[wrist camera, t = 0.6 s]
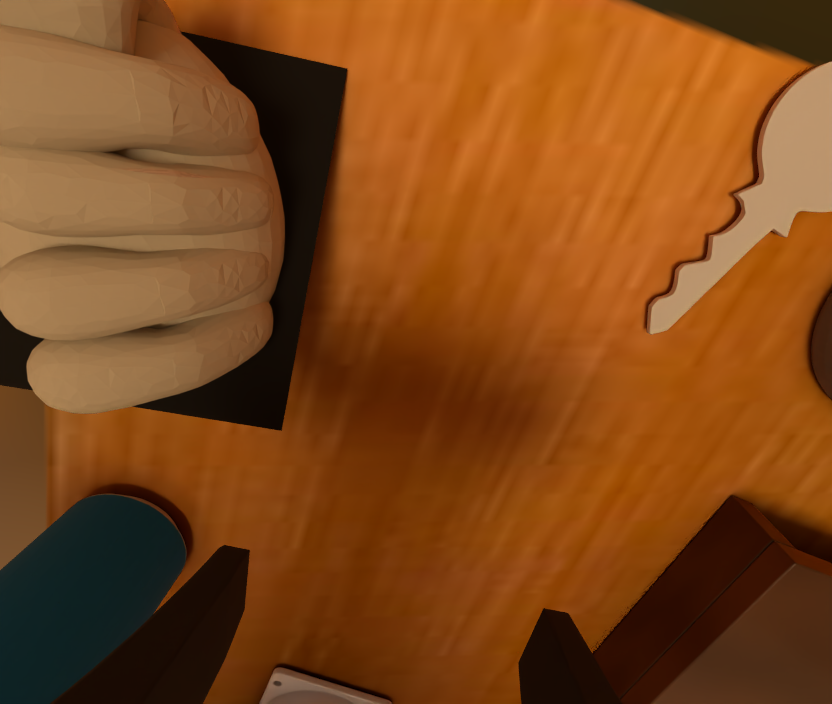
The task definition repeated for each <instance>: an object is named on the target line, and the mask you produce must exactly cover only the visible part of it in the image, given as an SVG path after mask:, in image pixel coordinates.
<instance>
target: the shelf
mask: <svg viewBox="0 0 832 704" xmlns="http://www.w3.org/2000/svg"><path fill="white" fill-rule="evenodd" d="M593 656H594V658H595V659H596V661H597V663H598V664H599V666H600V668H601V670H602V671H603V673H604V675H605V676H606V678H607V680H608V681H609V683H610V685H611V686H612V688H613V689H614V691H615V693H616V694H617V696H618V698H619V699H620V701H621V702H622V704H832V563H830V562H828V561H825V560H822V559H820V558H817V557H815V556H812V555H809V554H807V553H804V552H802V551H799V550H796V548H795V547H794V546H793V545H792V544H791V543H790V542H789V541H788V540H787V539H786V538H785V537H784V536H783V535H782V534H781V533H780V532H779V531H778V530H777V529H776V528H775V527H774V526H773V525H772V524H771V523H770V522H769V520H768V519H767V518H766V517H765V516H764V515H763V514H762V513H761V512H760V511H759V510H758V509H757V508H756V507H755V506H754V505H753V504H752V503H749V502H747V501H744V500H741V499H739V498H736V497H734V496H731V497H730V498H729V499H728V500H727V502H726V503H725V504H724V505H723V506H722V507H721V508H720V510H719V511H718V512H717V513H716V514H715V515H714V516H713V518H712V519H711V520H710V521H709V522H708V523H707V525H706V526H705V527H704V528H703V529H702V530H701V531H700V533H699V534H698V535H697V536H696V537H695V538H694V539H693V541H692V542H691V543H690V544H689V545H688V546H687V547H686V549H685V550H684V551H683V552H682V553H681V554H680V555H679V557H678V558H677V559H676V560H675V561H674V562H673V564H672V565H671V566H670V567H669V568H668V569H667V570H666V572H665V573H664V574H663V575H662V576H661V577H660V578H659V580H658V581H657V582H656V583H655V584H654V585H653V586H652V588H651V589H650V590H649V591H648V592H647V593H646V594H645V596H644V597H643V598H642V599H641V600H640V601H639V603H638V604H637V605H636V606H635V607H634V608H633V609H632V611H631V612H630V613H629V614H628V615H627V616H626V617H625V619H624V620H623V621H622V622H621V623H620V624H619V625H618V627H617V628H616V629H615V630H614V631H613V632H612V634H611V635H610V636H609V637H608V638H607V639H606V640H605V642H604V643H603V644H602V645H601V646H600V647H599V648H598V650H597V651H596V652H595V653H594V654H593Z"/></svg>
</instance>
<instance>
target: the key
mask: <svg viewBox="0 0 832 704" xmlns="http://www.w3.org/2000/svg"><path fill="white" fill-rule="evenodd" d="M757 161H758V168H759V178H758V180H757V183H756V184H754V185H752V186H750V187H748V188H745V189H743V190H741V191H739V192H737V193H734V194H733V195H734V196H735V197H736V198H737V199H738V200H739V202H740V206H741V213H740V215H739V217H738V218H737V219H736V221H735V222H734V223H733V224H732V225H731V226H729V227H728V228H727V229H726V230H724V231H722V232H720V233H718V234H714V235H709V243H708V252H707V256H706V258H705V259H704V260H701V261H696V262H689V263H683V264H680V265H679V267H678V268H677V269H676V270H675V277H674V283H673V287H672V289H671V291H670V292H669V293H668V294H666V295H663V296H660V297H656V298H655V299H654V300H653V301H652V302H651V303H650V304H649V306H648V319H647V333H649V334H655V333H659V332H663V331H666V330H668V329H669V328H670V327H671V326H672V325H673V324H674V323H675V322H676V321H677V320H678V319H679V318H680V317H681V316H682V315H684V314H685V313H686V312H687V311H688V310H689V309H690V308H691V307H692V306H693V305H694V304H695V303H696V302H697V301H698V300H699V299H700V298H701V297H702V296H703V295H704V294H705V293H706V292H707V291H708V290H709V289H710V288H711V287H712V286H713V285H714V284H715V283H716V282H717V281H718V280H719V279H720V278H721V277H722V276H724V275H725V274H726V273H727V272H728V271H729V270H730V269H731V268H732V267H733V266H734V265H735V264H736V263H737V262H738V261H739V260H740V259H741V258H742V257H743V256H744V255H745V254H746V253H747V252H748V251H749V250H750V249H751V248H752V247H753V246H754V245H755V244H756V243H758V242H759V241H760V240H761V239H762V238H763V237H764V236H766V235H767V234H768V233H769V232H770V231H771V230H772V231H773V232H775V233H776V234H778V235H779V236H781V237H787V236H788V233H789V230H790V227H791V224H792V221H793V219H794V217H795V215H796V214H797V213H798V212H800V211H808V212H829V211H832V61H831V62H828V63H825V64H822V65H820V66H818V67H815V68H813V69H812V70H810V71H808V72H806V73H805V74H803V75H802V76H800V77H799V78H798V79H796V80H795V81H794V82H793V83H792V84H791V85H789V86H788V87H787V88H786V89H785V90H784V91H783V93H782V94H781V95H780V96H779V97H778V99H777V100H776V101H775V103H774V104H773V106H772V107H771V109H770V111H769V112H768V114H767V116H766V118H765V121H764V123H763V126H762V129H761V132H760V135H759V140H758V147H757Z"/></svg>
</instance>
